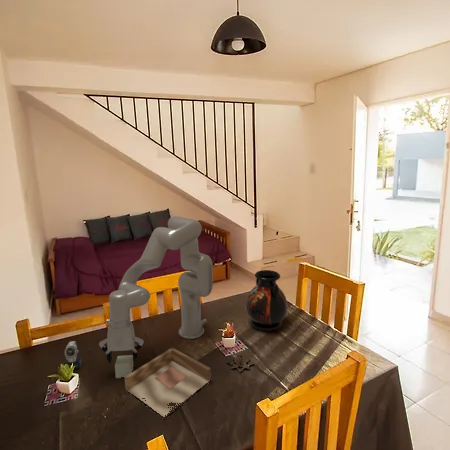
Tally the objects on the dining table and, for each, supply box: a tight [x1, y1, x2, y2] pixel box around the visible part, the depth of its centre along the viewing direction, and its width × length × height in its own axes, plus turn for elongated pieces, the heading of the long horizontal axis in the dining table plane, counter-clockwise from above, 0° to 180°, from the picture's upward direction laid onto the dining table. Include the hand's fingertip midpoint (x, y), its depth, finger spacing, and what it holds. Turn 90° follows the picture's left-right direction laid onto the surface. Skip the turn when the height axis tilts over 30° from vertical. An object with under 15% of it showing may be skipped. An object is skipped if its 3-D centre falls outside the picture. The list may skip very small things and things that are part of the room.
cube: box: [114, 354, 134, 379], centre depth 134 cm, size 6×6×6 cm
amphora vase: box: [245, 269, 289, 332], centre depth 169 cm, size 22×22×28 cm
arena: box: [124, 347, 212, 417], centre depth 126 cm, size 24×22×6 cm
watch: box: [63, 340, 83, 370], centre depth 137 cm, size 6×8×11 cm
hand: (122, 360), depth 132 cm, fingers open, 9 cm apart
